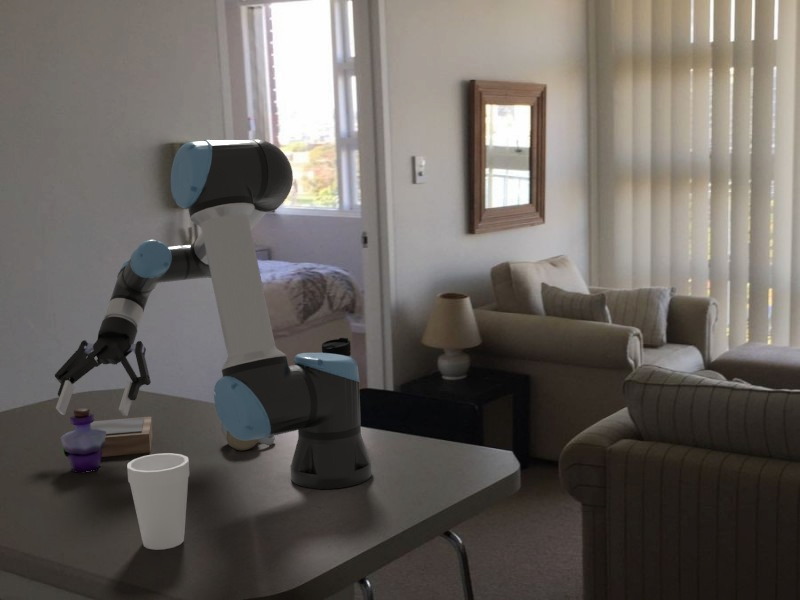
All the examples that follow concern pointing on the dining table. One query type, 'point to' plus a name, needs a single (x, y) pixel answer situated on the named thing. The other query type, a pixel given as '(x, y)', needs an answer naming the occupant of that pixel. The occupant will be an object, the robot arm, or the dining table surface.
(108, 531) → the dining table surface
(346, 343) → the travel mug
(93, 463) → the potion bottle
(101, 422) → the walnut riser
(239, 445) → the ceramic mug
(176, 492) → the foam cup
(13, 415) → the dining table surface
